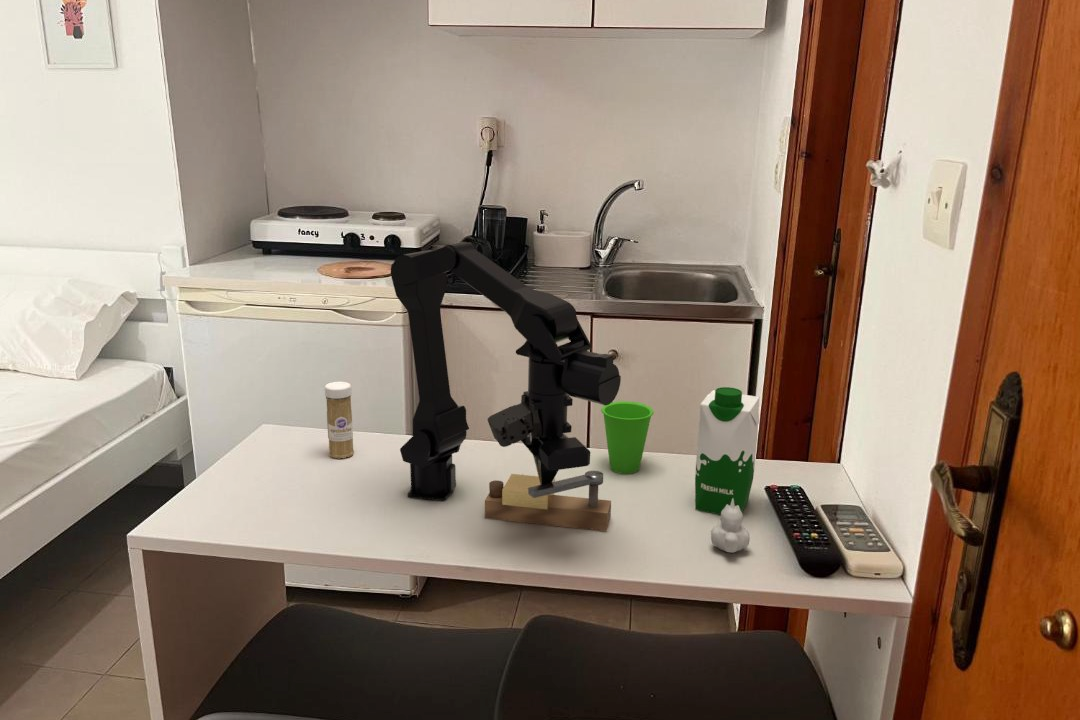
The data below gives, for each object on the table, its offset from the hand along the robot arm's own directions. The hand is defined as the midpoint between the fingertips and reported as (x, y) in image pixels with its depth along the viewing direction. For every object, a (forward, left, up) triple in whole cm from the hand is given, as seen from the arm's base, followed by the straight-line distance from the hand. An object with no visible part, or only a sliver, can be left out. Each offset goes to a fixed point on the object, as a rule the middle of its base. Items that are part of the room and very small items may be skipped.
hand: (545, 487), depth 126 cm
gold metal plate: (-3, +4, -4) cm, 6 cm away
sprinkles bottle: (-42, +20, -7) cm, 47 cm away
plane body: (0, +4, -7) cm, 8 cm away
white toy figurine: (+27, 0, -7) cm, 28 cm away
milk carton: (+26, +15, -7) cm, 31 cm away
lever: (+3, +1, 0) cm, 3 cm away
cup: (+9, +26, -7) cm, 28 cm away
